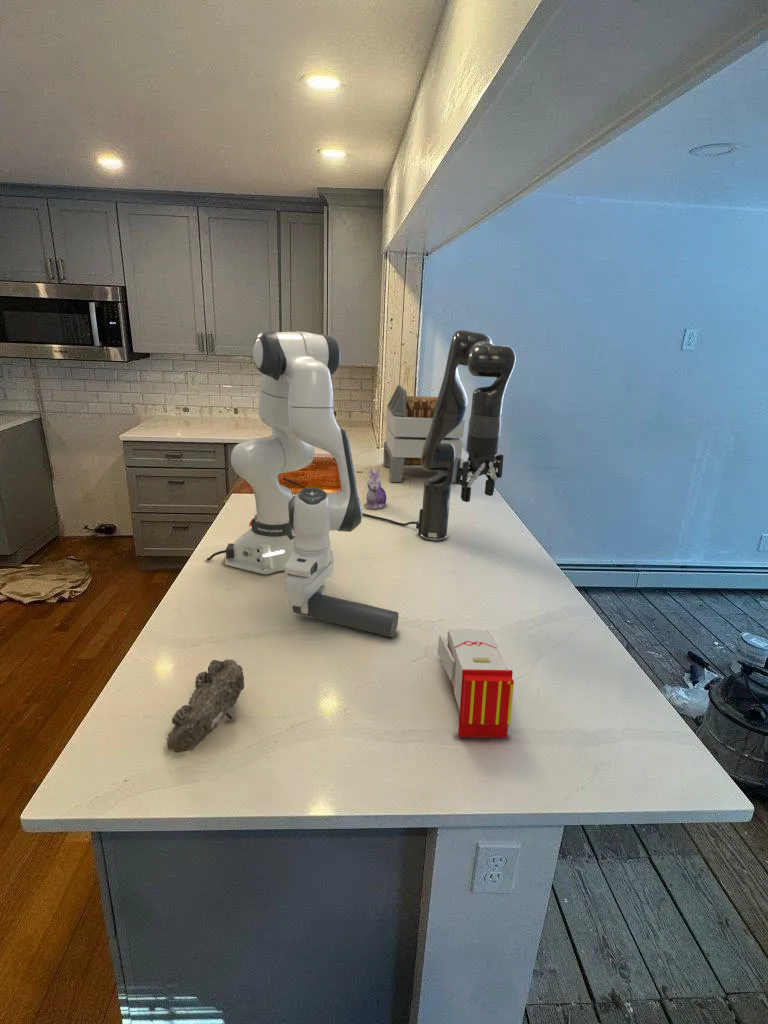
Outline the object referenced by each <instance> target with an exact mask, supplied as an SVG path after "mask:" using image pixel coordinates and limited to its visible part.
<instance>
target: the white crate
mask: <svg viewBox="0 0 768 1024" xmlns="http://www.w3.org/2000/svg"><path fill="white" fill-rule="evenodd" d="M407 394H408V393H407V390H406V389H404V388H403V387H402V385H399V384H398V385H397V386H396V388H395V390H394V392H393V394H392V395H391V398H390V400H389V402H388V404H387V405H386V413H385V414H386V415H385V423H386V428H385V438H384V442H383V466H384V467H388V468H389V475H388V476H389V477H388V478H389V480H390V482H391V483H402V482H403V475H404V469H405V466H406V467H407V466H411V467H412V466H413V467H415V466H416V467H417V466H418V467H422V465H421V453H422V449H423V446H424V443H425V441H426V438H427V435H428V433H429V430H430V427H431V423H432V419H433V415H434V410H435V406H436V402H437V399H438V396H415V395H414V396H413V395H412V396H411V395H407ZM464 429H465V419H464V418H463V419H462V421H461V423H460V424H459V425H458V426H457V427H456V428H455V429H454V430H453V431H452V432H451V433H449V434H448V435H447V436H446V437H445V438H444V439H443V440H442V441H441V442H440V443H450V444H452V445H453V446H454V449H455V464H454V471H453V479H452V484H456V483H455V481H456V473H457V465H458V460H459V459H461V460H463V459H462V453H463V442H464V441H463V440H462V439H463V438H464V431H465V430H464Z"/></svg>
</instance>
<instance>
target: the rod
mask: <svg viewBox="0 0 768 1024" xmlns="http://www.w3.org/2000/svg"><path fill="white" fill-rule="evenodd" d="M307 603H308V605H310V611H309V612H308V613H307V614H304V613H301V607H297V606H293V605H292V612H293V613H294V614H296V615H301V616H305V617H309V618H312V619H316V620H321V621H324V622H328V623H333V624H336V625H341V626H345V627H348V628H352V629H357V630H360V631H365V632H369V633H373V634H377V635H380V636H385V637H389V638H393V637H394V636H395V634H396V631H397V628H398V624H399V617H400V616H399V612H398V611H395V610H390V609H386V608H383V607H377V606H374V605H371V604H370V605H369V604H365V603H361V602H357V601H353V600H349V599H344V598H340V597H336V596H332V595H328V594H327V595H326V594H324V593H323V594H319V593H314V594H313V595H312V596H311V597H310V598H309V599H308V602H307Z"/></svg>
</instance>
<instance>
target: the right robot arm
mask: <svg viewBox="0 0 768 1024" xmlns="http://www.w3.org/2000/svg"><path fill="white" fill-rule="evenodd" d="M516 359H517V357H516V353H515V351H514V348H512V346H509V345H495V344H493V341H492V339H491V337H490V336H488V335H487V334H485V333H482V332H476V331H470V330H464V329H458V330H456V331H455V332H454V333H453V335H452V338H451V341H450V345H449V350H448V354H447V360H446V364H445V370H444V375H443V379H442V383H441V386H440V389H439V393H438V396H437V397H438V399H437V402H436V406H435V410H434V415H433V419H432V423H431V427H430V430H429V433H428V435H427V438H426V441H425V443H424V446H423V449H422V453H421V465H422V466H421V467H422V469H423V470H424V471H428V472H429V471H430V472H438V473H436V474H435V475H433V476H431V477H429V478H427V479H425V480H424V482H423V493H422V496H423V497H422V506H421V508H420V509H419V516H418V520H417V521H408V522H405V523H404V522H398V521H395V520H393V519H389V518H385V517H380V516H376V515H372V514H369V513H368V514H367V513H365V512H362V516H364V517H368V518H373V519H377V520H381V521H386V522H388V523H392V524H395V525H398V526H403V527H405V526H406V527H407V526H408V525H415V529H417V535H418V536H420V538H421V539H424V540H426V541H432V542H440V541H444V540H446V539H447V538H448V525H449V517H450V516H449V514H450V504H451V494H452V493H451V491H452V484H453V483H452V479H453V471H454V464H455V449H454V446H453V445H452V444H450V443H440V442H441V441H442V440H443V439H444V438H445V437H446V436H447V435H448V434H449V433H451V432H452V431H453V430H454V429H455V428H456V427H457V426H458V425H459V424H460V423H461V421H462V419H464V417H465V413H466V411H467V407H468V403H469V401H468V400H469V399H468V396H467V393H466V390H465V388H464V386H463V383H462V382H461V379H460V374H459V370H458V367H459V366H466V367H467V368H468V371H469V373H470V375H471V376H473V377H479V378H495V380H494V382H493V383H492V384H489V385H487V386H481V387H477V388H475V389H474V390H473V392H472V399H471V408H470V416H469V420H468V429H467V439H466V452H467V454H468V456H467V459H462V460H461V459H459V460H458V465H457V473H456V481H455V483H454V484H456V485H459V486H461V489H460V500H461V501H462V502H465V503H469V502H470V501H471V496H472V495H471V494H472V485H473V483H474V481H477V479H478V478H479V477H481V476H482V475H484V476H485V478H486V479H485V484H484V485H485V486H484V495H486V496H489V497H492V496H493V495H494V492H495V486H496V482H497V480H498V478H499V479H501V478H502V477H503V467H504V454H501V453H499V448H500V447H499V446H500V438H501V429H502V410H503V403H504V395H505V393H506V389H507V387H508V383H509V381H510V378H511V376H512V374H513V371H514V369H515V366H516V361H517V360H516ZM282 480H283V481H286V482H289V483H292V484H293V485H296V486H298V487H300V488H301V489H305V488H307V487H306V486H304V485H302V484H301V483H299V482H296V481H293V480H291V479H288V478H286V477H282Z"/></svg>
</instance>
